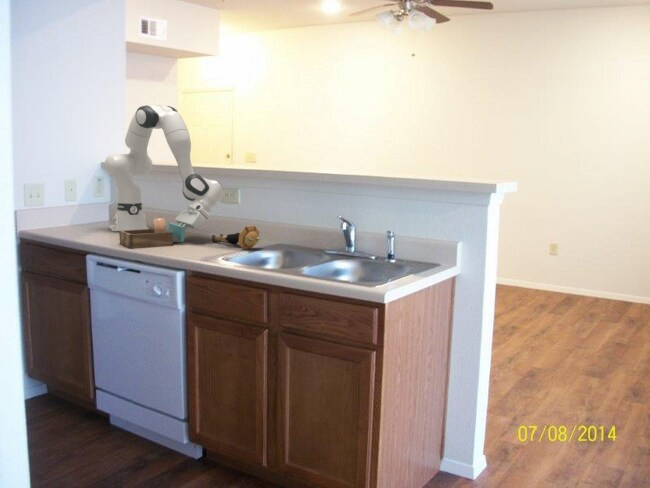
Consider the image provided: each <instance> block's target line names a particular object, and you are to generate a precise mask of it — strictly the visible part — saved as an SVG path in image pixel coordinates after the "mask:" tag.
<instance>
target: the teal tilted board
mask: <svg viewBox="0 0 650 488" xmlns="http://www.w3.org/2000/svg"><path fill="white" fill-rule="evenodd" d="M179 225H180V224H175V223H173V222H168V224H167V227H168V232H173V243H175V242H181V243H183V242H185V230H184V227H183V226H179Z"/></svg>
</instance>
